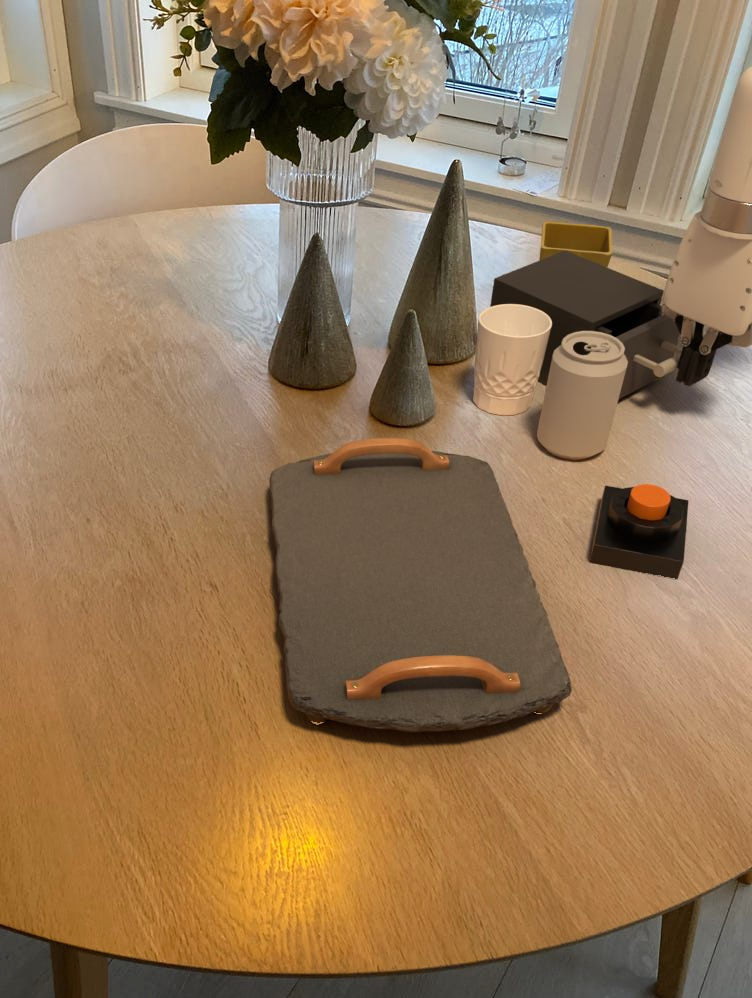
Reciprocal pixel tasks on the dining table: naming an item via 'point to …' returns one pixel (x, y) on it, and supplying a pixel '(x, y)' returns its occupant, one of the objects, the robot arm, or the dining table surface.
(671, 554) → the panel
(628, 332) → the drawer
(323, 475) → the serving tray
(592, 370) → the can
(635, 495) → the button
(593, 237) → the flower pot
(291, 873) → the dining table surface
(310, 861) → the dining table surface
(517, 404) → the white cup
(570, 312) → the cabinet
